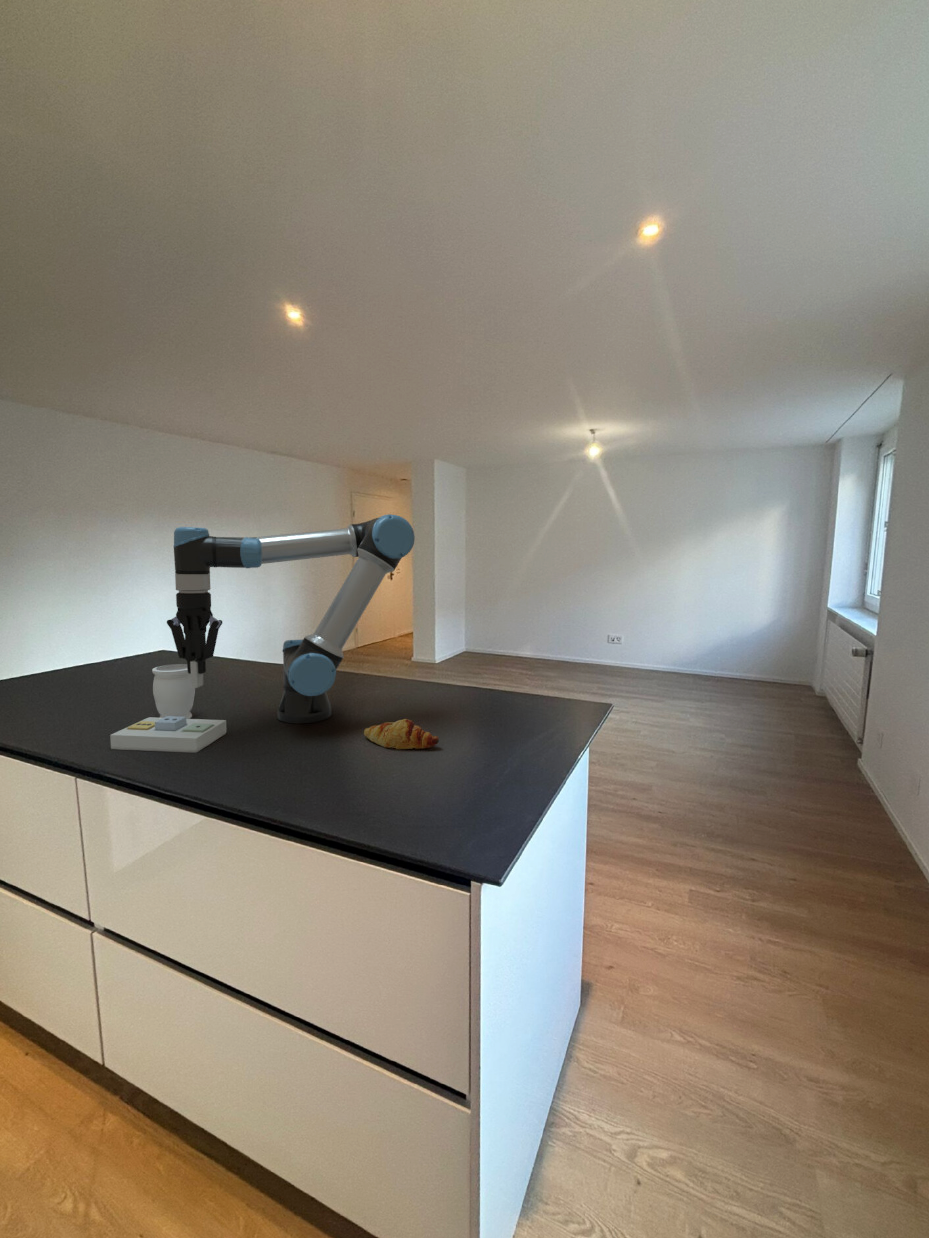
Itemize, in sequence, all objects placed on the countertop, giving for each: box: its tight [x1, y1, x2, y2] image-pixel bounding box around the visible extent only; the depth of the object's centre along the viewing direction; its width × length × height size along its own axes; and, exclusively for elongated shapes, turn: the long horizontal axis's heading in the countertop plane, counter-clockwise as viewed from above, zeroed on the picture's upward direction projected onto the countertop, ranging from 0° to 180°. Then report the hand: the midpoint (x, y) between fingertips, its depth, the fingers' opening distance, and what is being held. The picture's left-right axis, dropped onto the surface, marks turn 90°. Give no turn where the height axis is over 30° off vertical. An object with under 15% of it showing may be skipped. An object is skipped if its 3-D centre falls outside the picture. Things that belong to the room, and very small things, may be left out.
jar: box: [152, 663, 196, 719], centre depth 146 cm, size 11×10×15 cm
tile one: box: [183, 723, 213, 732], centre depth 129 cm, size 5×5×3 cm
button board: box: [109, 716, 227, 754], centre depth 129 cm, size 21×14×4 cm, turn 87°
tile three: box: [126, 720, 155, 730], centre depth 129 cm, size 5×5×3 cm
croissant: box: [363, 718, 439, 750], centre depth 131 cm, size 21×10×8 cm, turn 71°
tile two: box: [155, 716, 187, 731], centre depth 129 cm, size 5×5×3 cm
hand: (197, 686), depth 127 cm, fingers closed
